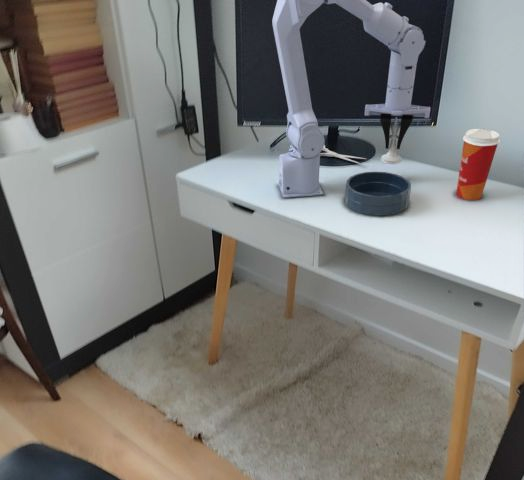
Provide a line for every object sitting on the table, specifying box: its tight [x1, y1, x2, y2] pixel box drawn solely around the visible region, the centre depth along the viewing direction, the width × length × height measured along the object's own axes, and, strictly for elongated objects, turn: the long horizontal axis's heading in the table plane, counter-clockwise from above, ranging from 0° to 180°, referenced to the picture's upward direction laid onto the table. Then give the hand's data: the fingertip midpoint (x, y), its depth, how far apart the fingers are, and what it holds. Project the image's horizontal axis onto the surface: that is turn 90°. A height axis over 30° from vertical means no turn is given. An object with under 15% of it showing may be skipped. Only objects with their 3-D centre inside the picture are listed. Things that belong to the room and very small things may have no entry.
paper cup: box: [456, 128, 501, 201], centre depth 122 cm, size 8×8×14 cm
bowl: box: [344, 171, 412, 216], centre depth 123 cm, size 14×14×4 cm
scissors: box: [320, 144, 366, 165], centre depth 147 cm, size 11×1×20 cm
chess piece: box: [380, 116, 402, 165], centre depth 129 cm, size 5×5×10 cm
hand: (392, 147), depth 130 cm, fingers closed on chess piece
